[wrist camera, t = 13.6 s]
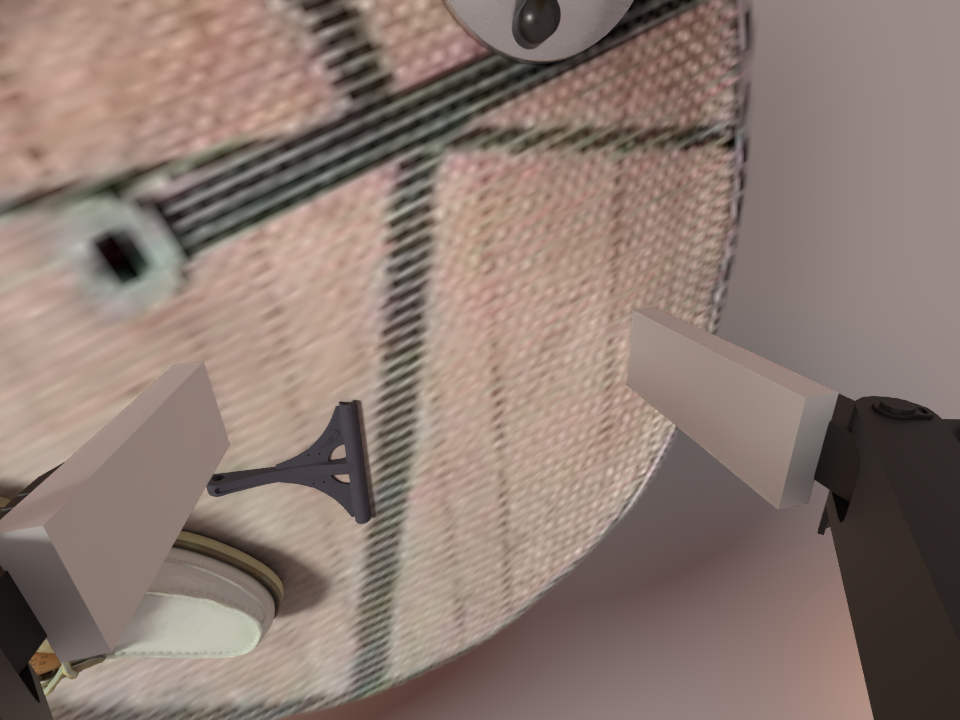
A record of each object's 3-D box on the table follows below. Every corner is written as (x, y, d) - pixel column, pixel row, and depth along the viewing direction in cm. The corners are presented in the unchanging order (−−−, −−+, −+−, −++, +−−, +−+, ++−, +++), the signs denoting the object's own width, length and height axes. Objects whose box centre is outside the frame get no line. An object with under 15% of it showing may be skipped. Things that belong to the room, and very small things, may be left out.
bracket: (194, 412, 42) (182, 427, 40) (356, 396, 45) (355, 409, 43) (228, 532, 48) (219, 551, 45) (371, 511, 50) (370, 529, 48)
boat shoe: (263, 633, 53) (232, 753, 42) (-139, 572, 41) (-331, 717, 30) (303, 547, 50) (281, 652, 39) (-120, 454, 38) (-328, 568, 27)
